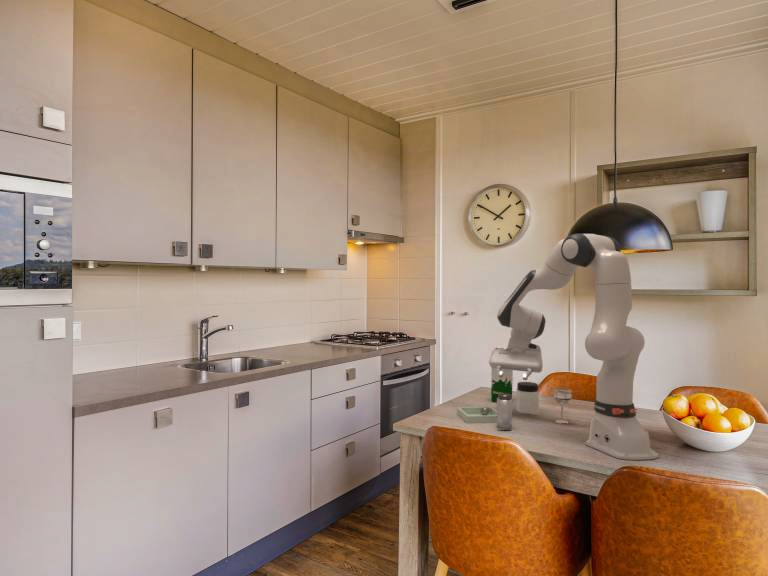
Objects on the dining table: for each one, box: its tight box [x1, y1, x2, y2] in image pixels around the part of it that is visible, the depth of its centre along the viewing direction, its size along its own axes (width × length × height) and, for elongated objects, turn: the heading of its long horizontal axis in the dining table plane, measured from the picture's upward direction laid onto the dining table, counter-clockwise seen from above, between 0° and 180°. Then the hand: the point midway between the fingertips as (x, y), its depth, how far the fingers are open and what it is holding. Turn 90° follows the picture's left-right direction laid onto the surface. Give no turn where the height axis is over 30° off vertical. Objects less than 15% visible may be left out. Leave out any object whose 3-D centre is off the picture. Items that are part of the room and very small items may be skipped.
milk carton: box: [490, 368, 514, 403], centre depth 232 cm, size 9×9×20 cm
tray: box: [456, 406, 497, 424], centre depth 200 cm, size 14×14×3 cm
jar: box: [515, 381, 540, 416], centre depth 212 cm, size 9×8×12 cm
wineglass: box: [552, 388, 573, 424], centre depth 199 cm, size 7×7×12 cm
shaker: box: [496, 393, 513, 432], centre depth 188 cm, size 5×5×12 cm
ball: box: [481, 406, 489, 415], centre depth 204 cm, size 3×3×3 cm
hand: (512, 377), depth 199 cm, fingers open, 8 cm apart
